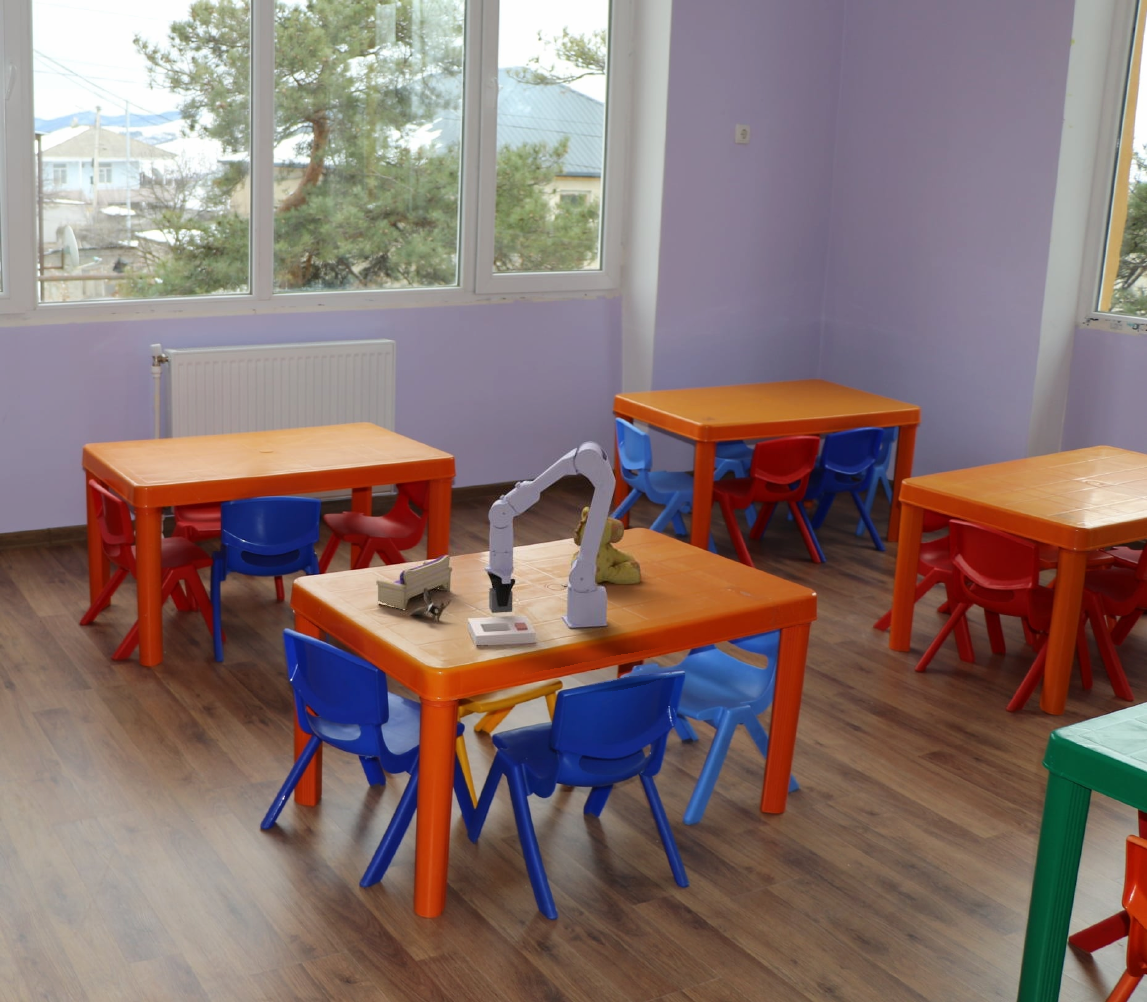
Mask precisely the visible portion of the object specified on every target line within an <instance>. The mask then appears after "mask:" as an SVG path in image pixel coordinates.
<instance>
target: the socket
mask: <svg viewBox="0 0 1147 1002" xmlns="http://www.w3.org/2000/svg"><path fill="white" fill-rule="evenodd" d="M467 630H468V632H469V634H471V635H470V636H471V639H472V638H473V639H472V641H473V643H474V645H482V646H481V647H484V646H483V645H488V646H502V645H504V646H505V645H519V644H520V645H521V644H535V643H536V634H537V633H536V631H535V628H533V626H532V624H531V622H530V620H529V619H528V617H527V616H526V615H512V616H510V615H509V616H491V617H489V616H488V617H474V618H473V617H472V618H471V617H468V618H467Z"/></svg>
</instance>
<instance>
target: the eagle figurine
mask: <svg viewBox="0 0 1147 1002" xmlns="http://www.w3.org/2000/svg"><path fill="white" fill-rule="evenodd" d="M428 591H429V590H428ZM428 591H427V588H424V592H423V600H424V602H425V603H426V604H427V605H426V606H422V607H418V608H416V609H415V610H414V611H413V612H411V613H412V614H411V613H410V614H411V615H410V616H413V615H419V616H420V615H421V616H422V615H424V614H425V613H426V614H428V613H430V614H432V615H433V616H436V619H437V622H440V618H441V615H442V613H443V612H444V610H445V609H446V608H447V607H448V606H449V605H450V603H451V600H448V601H447V602H446V603H445V602H443V601H441V603H440V605H439V606H436V605H434V601H433V599H432V596H431V595H430V594H429V592H428ZM436 610H437V612H436Z"/></svg>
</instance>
